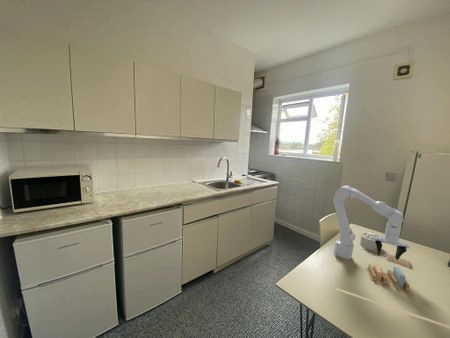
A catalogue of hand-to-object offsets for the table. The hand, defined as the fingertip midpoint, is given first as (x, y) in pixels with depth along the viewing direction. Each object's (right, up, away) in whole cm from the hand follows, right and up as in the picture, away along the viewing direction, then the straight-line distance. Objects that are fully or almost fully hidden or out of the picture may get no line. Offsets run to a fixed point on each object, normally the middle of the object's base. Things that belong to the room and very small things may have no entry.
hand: (387, 256), depth 100 cm
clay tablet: (+17, -10, +12) cm, 23 cm away
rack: (-4, -10, -4) cm, 12 cm away
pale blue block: (-1, -10, -6) cm, 12 cm away
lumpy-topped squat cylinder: (+12, -7, +28) cm, 32 cm away
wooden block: (-8, -9, -3) cm, 12 cm away
